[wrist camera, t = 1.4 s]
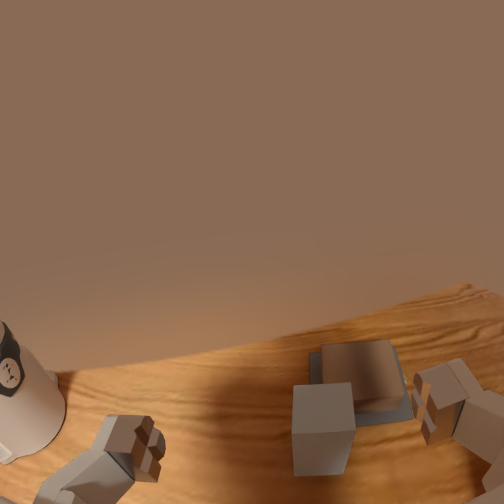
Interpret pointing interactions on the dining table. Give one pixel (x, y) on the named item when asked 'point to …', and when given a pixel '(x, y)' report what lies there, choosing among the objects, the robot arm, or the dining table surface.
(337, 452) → the pillar
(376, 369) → the base slab
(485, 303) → the dining table surface
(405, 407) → the build pad
